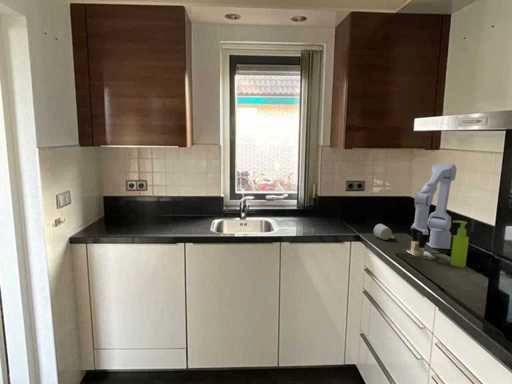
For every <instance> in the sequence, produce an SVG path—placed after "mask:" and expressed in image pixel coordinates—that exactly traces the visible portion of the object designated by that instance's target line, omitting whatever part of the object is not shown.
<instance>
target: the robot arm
mask: <svg viewBox="0 0 512 384" xmlns="http://www.w3.org/2000/svg"><path fill="white" fill-rule="evenodd" d="M431 172H432V173H431V177H430V179H429V181H428V182H426V183H424V186H423V187H422V188H421V189H420V192H418V193H416V194H415V196H414V199H413V200H414V208H415V213H414V214H415V215H414V221H413V222H414V223H412V225H411V226H410V228H409V230H410V232H411V237H412V241H419V248H424V249H425V246H426V245H427V246H429V247H430V248H432V249H443V250H444V249H445V250H448V249H449V250H452V247H451V242H452V233H451V232H450V230H451V227H452V216H450V215H449V213H447V209H448V208H447V207H448V201H449V196H450V189H451V184H452V182H453V181H455V180H456V176H457V166H456V164H454V163H453V164H449V163H448V164H447V163H438V162H437V163H436V162H434V164H433V165H432V167H431ZM438 185H439V188H438ZM437 191H438V192H437ZM436 192H437V199H436V205H435V206H436V207H435V211H433V212H431V213H430V206H431V205H432V203H433V200H434V196H435V193H436ZM429 213H430V214H429ZM428 228H429V229H428ZM429 230H430V231H429ZM429 232H430V233H429ZM428 240H429V241H428Z"/></svg>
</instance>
